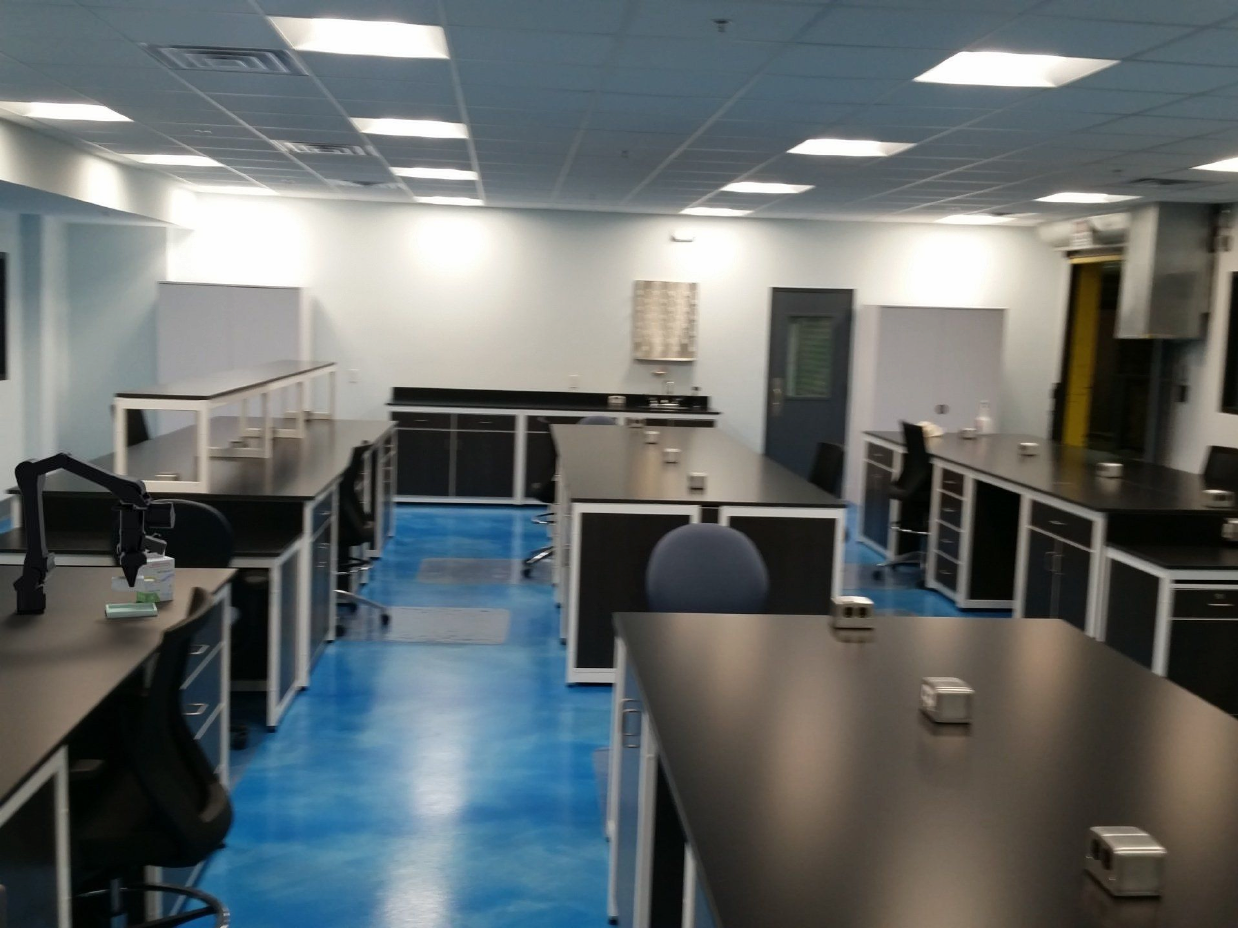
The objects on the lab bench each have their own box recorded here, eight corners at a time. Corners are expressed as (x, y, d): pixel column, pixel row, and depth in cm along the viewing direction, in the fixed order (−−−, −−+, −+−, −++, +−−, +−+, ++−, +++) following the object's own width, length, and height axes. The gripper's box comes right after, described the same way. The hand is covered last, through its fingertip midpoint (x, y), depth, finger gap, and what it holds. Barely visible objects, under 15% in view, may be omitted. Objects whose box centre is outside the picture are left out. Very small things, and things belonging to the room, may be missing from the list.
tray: (107, 617, 305) (107, 612, 305) (105, 609, 313) (105, 604, 313) (157, 615, 310) (157, 610, 310) (154, 607, 318) (154, 602, 318)
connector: (111, 591, 307) (112, 579, 307) (111, 588, 310) (111, 576, 310) (153, 589, 312) (154, 577, 311) (152, 586, 315) (153, 575, 315)
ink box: (146, 604, 321) (146, 550, 320) (136, 600, 324) (136, 548, 323) (174, 599, 328) (175, 547, 327) (164, 596, 331) (165, 544, 330)
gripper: (168, 532, 304) (167, 592, 306) (161, 520, 321) (160, 576, 323) (121, 533, 299) (120, 593, 301) (117, 521, 316) (116, 578, 318)
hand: (131, 585), depth 311 cm, fingers closed on connector, 4 cm apart
